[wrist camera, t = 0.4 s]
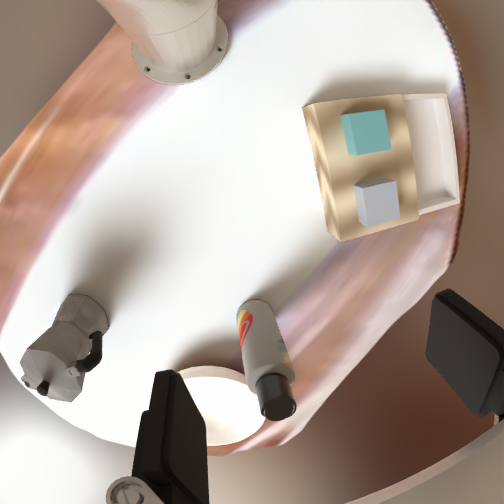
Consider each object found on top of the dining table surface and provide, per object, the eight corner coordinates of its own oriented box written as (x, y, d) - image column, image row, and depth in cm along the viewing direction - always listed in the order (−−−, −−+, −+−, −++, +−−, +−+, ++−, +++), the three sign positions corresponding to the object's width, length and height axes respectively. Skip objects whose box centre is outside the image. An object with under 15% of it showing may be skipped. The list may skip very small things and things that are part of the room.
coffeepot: (72, 349, 45) (36, 422, 29) (43, 306, 42) (-8, 372, 25) (140, 324, 45) (114, 408, 28) (110, 274, 42) (63, 346, 25)
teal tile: (340, 115, 33) (348, 113, 31) (374, 110, 33) (384, 109, 31) (348, 154, 35) (357, 155, 33) (381, 148, 35) (391, 149, 33)
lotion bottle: (229, 322, 47) (242, 423, 28) (246, 293, 45) (269, 389, 27) (261, 334, 48) (287, 432, 30) (279, 306, 47) (316, 400, 28)
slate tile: (353, 185, 37) (362, 188, 34) (386, 178, 37) (396, 180, 34) (359, 222, 38) (367, 227, 36) (390, 213, 38) (400, 218, 36)
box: (385, 97, 38) (398, 94, 34) (432, 94, 38) (446, 93, 35) (403, 210, 44) (415, 215, 41) (446, 198, 44) (459, 202, 41)
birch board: (302, 107, 37) (313, 103, 33) (382, 97, 38) (401, 93, 33) (327, 231, 44) (340, 242, 39) (400, 211, 44) (418, 219, 39)
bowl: (260, 345, 49) (265, 369, 43) (263, 417, 56) (268, 440, 50) (144, 354, 47) (138, 378, 41) (169, 424, 54) (167, 447, 48)
